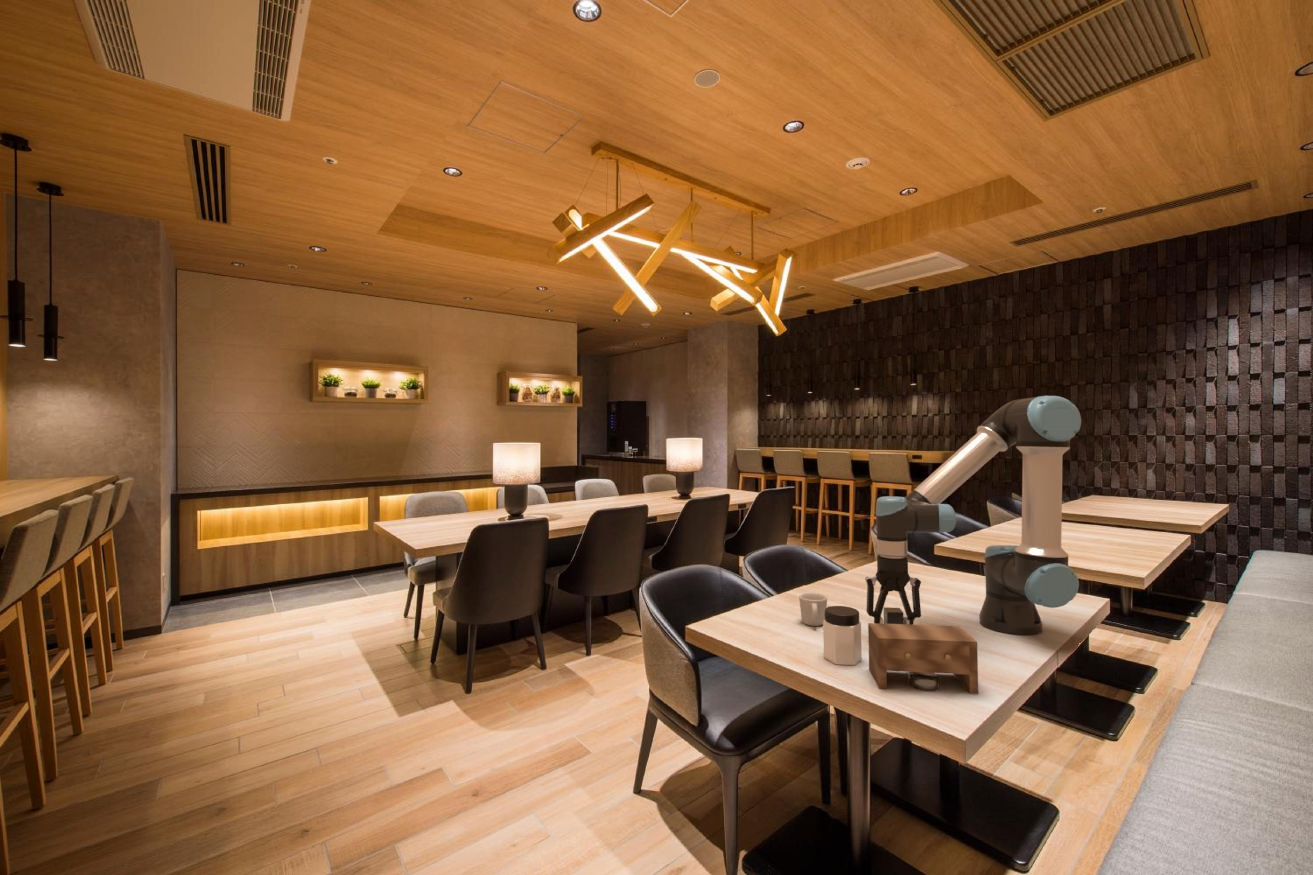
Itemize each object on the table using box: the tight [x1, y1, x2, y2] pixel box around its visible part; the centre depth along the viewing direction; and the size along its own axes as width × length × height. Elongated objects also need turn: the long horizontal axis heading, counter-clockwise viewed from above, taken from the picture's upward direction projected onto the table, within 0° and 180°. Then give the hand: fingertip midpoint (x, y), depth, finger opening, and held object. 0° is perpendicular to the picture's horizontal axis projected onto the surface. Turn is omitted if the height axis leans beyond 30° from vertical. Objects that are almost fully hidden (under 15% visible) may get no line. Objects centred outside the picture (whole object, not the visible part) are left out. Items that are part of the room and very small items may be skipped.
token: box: [908, 672, 940, 692], centre depth 122 cm, size 6×6×2 cm
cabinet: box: [867, 622, 979, 695], centre depth 124 cm, size 20×11×11 cm, turn 81°
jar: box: [822, 605, 863, 666], centre depth 137 cm, size 9×8×12 cm
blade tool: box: [883, 606, 905, 624], centre depth 139 cm, size 4×19×9 cm, turn 171°
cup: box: [798, 592, 828, 627], centre depth 163 cm, size 11×8×8 cm
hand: (894, 642), depth 147 cm, fingers open, 6 cm apart
